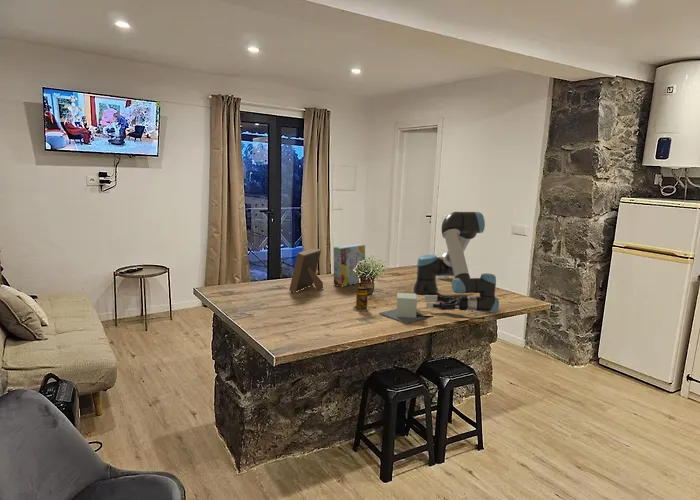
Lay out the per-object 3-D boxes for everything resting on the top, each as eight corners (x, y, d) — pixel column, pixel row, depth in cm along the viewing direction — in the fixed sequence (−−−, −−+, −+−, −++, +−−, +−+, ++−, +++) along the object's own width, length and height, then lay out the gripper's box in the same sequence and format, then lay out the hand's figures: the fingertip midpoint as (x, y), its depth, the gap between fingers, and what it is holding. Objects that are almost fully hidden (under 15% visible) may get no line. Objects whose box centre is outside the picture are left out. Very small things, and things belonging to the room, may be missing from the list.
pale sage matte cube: (396, 316, 238) (397, 297, 236) (396, 310, 248) (397, 292, 246) (416, 317, 237) (417, 298, 235) (415, 311, 247) (416, 293, 245)
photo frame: (289, 292, 283) (289, 251, 278) (307, 284, 302) (307, 246, 298) (310, 295, 277) (311, 254, 272) (327, 287, 296) (328, 249, 292)
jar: (441, 280, 324) (442, 263, 322) (433, 277, 331) (434, 261, 329) (451, 278, 329) (452, 262, 327) (442, 276, 336) (443, 260, 334)
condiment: (365, 311, 248) (366, 289, 246) (350, 309, 250) (351, 288, 248) (369, 307, 255) (370, 286, 253) (354, 306, 257) (355, 285, 255)
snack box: (356, 280, 318) (357, 243, 313) (365, 282, 311) (366, 244, 307) (332, 285, 303) (333, 246, 299) (341, 287, 297) (342, 248, 292)
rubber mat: (378, 313, 244) (379, 312, 244) (405, 307, 256) (405, 306, 256) (406, 324, 229) (406, 322, 228) (433, 316, 241) (433, 315, 241)
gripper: (470, 317, 226) (426, 315, 228) (463, 303, 251) (423, 301, 253) (471, 303, 225) (427, 300, 227) (464, 290, 249) (424, 288, 252)
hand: (425, 301), depth 240 cm, fingers open, 13 cm apart
